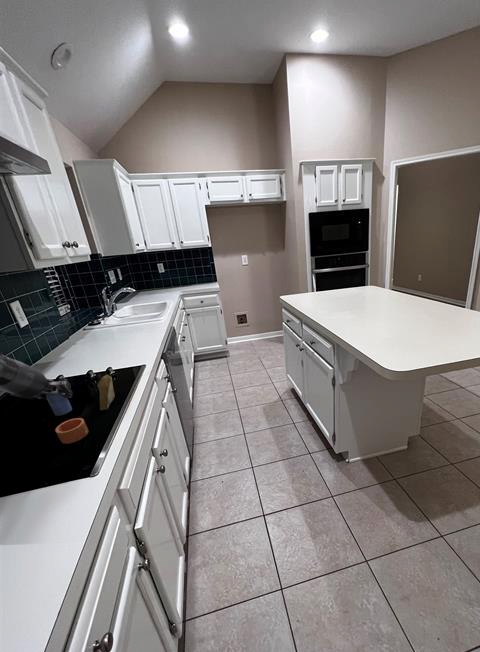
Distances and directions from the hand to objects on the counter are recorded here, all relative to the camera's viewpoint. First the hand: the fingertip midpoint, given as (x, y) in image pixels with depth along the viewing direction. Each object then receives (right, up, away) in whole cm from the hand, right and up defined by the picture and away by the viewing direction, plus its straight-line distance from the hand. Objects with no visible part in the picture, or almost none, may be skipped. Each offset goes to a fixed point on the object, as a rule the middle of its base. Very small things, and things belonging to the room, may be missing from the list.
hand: (61, 396), depth 92 cm
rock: (+1, -5, +21) cm, 21 cm away
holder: (+1, -12, +4) cm, 13 cm away
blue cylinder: (+1, -4, 0) cm, 4 cm away
